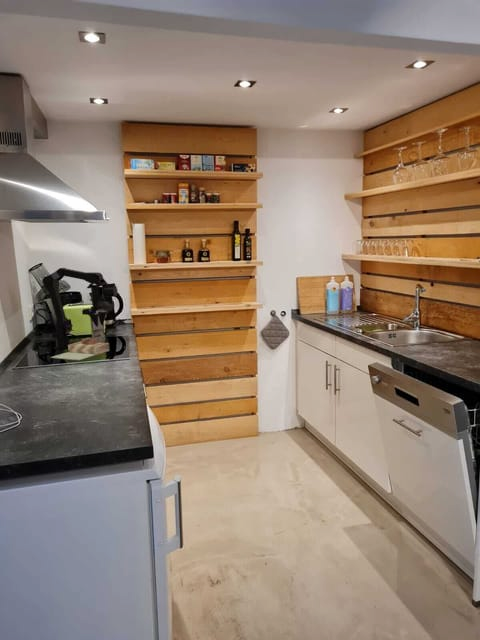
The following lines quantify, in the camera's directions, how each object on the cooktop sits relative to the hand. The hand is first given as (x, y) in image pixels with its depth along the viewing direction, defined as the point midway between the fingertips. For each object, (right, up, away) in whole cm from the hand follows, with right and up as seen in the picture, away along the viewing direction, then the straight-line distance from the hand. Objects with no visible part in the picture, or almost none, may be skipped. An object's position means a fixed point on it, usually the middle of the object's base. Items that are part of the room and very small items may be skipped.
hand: (99, 325), depth 256 cm
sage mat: (-8, -15, -17) cm, 24 cm away
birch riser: (-3, -13, -7) cm, 15 cm away
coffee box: (-7, -9, +22) cm, 25 cm away
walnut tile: (-3, -9, -6) cm, 11 cm away
